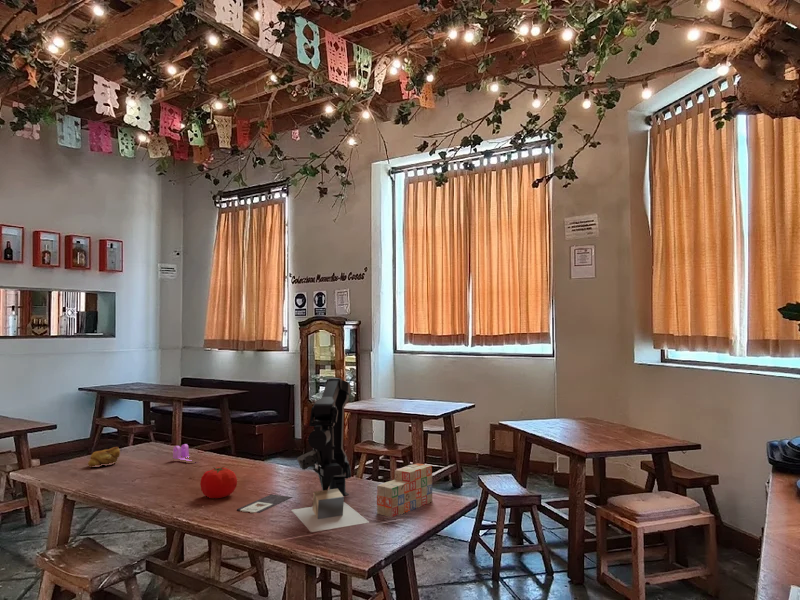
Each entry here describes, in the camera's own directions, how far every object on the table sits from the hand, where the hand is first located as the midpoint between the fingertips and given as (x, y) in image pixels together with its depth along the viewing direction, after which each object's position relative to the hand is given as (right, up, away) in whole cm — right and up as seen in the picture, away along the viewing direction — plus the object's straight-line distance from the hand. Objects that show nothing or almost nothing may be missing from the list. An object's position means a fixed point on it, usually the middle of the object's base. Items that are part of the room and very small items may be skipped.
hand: (324, 492), depth 182 cm
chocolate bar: (-21, -8, +10) cm, 25 cm away
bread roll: (-108, -13, +72) cm, 130 cm away
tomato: (-40, -9, +20) cm, 46 cm away
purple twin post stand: (-72, -12, +77) cm, 107 cm away
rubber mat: (+2, -6, -4) cm, 8 cm away
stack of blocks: (+26, -7, +4) cm, 27 cm away
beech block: (0, -2, 0) cm, 2 cm away
